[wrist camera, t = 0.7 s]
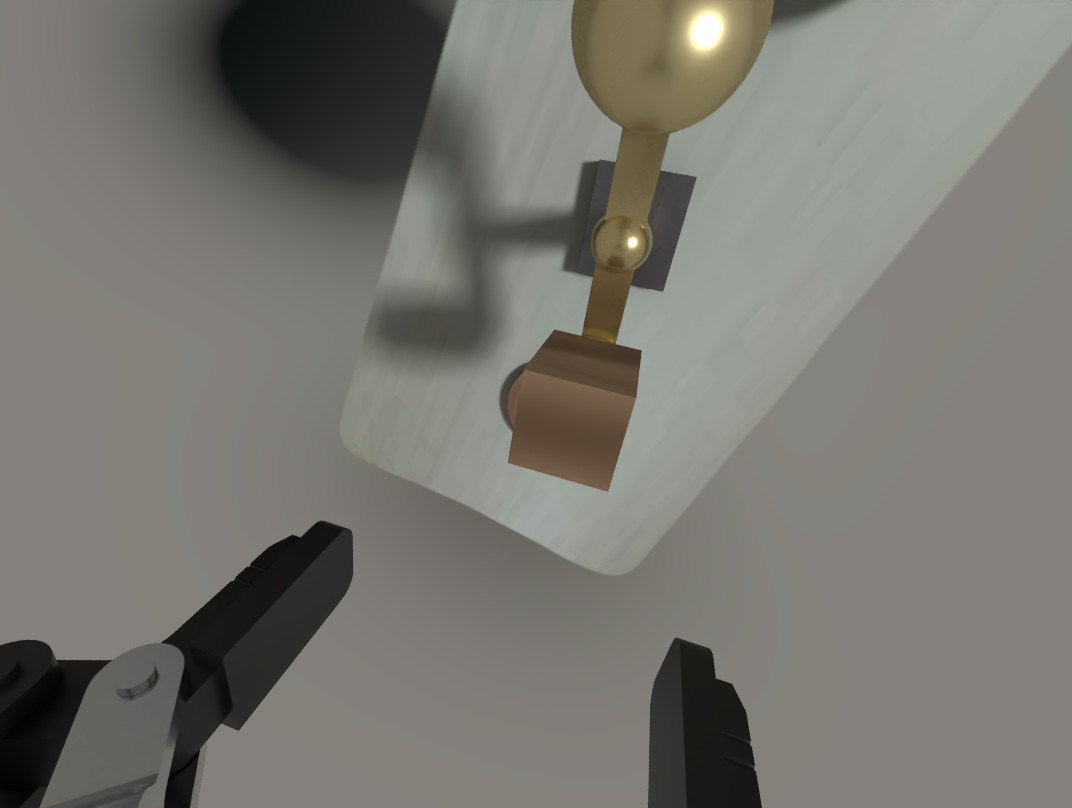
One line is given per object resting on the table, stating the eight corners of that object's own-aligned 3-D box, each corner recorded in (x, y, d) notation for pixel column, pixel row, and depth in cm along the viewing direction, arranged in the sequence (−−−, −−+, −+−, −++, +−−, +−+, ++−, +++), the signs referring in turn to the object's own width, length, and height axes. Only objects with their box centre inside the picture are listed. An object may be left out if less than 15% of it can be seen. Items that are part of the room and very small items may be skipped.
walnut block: (554, 329, 23) (523, 369, 18) (641, 350, 23) (636, 397, 17) (539, 406, 25) (507, 462, 20) (619, 428, 25) (607, 491, 19)
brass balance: (627, 36, 27) (594, -126, 13) (732, 51, 26) (811, -106, 12) (563, 344, 35) (504, 438, 22) (640, 363, 34) (628, 472, 21)
